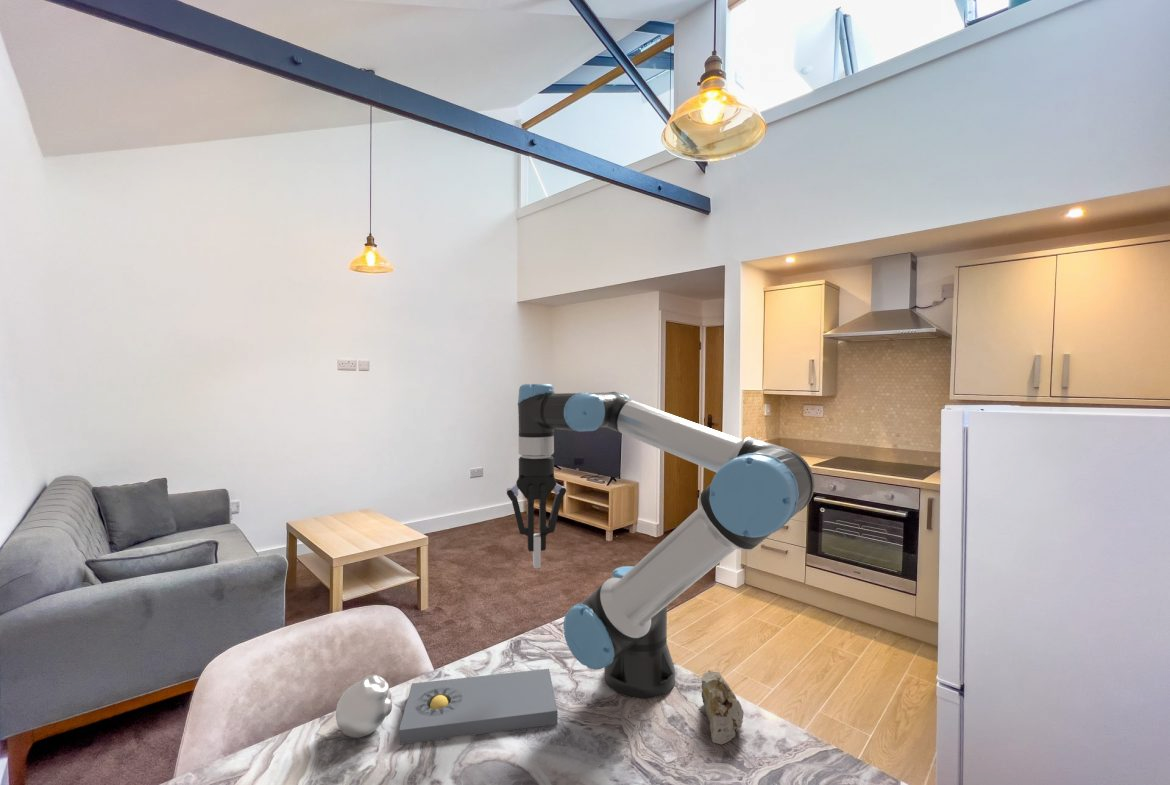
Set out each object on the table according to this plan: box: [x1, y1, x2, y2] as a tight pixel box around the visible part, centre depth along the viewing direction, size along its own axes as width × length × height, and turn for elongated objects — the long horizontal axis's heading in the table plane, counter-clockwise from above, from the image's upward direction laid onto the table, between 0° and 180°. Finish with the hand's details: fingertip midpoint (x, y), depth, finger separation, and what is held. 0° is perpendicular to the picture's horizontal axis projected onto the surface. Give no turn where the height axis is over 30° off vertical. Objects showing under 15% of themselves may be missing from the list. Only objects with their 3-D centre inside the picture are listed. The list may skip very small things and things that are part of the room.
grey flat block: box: [398, 668, 559, 745], centre depth 97 cm, size 28×14×2 cm, turn 101°
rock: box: [701, 670, 744, 745], centre depth 93 cm, size 12×7×10 cm, turn 173°
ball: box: [430, 695, 448, 709], centre depth 95 cm, size 3×3×3 cm
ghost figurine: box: [335, 674, 393, 738], centre depth 90 cm, size 9×10×10 cm
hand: (536, 565), depth 106 cm, fingers closed
